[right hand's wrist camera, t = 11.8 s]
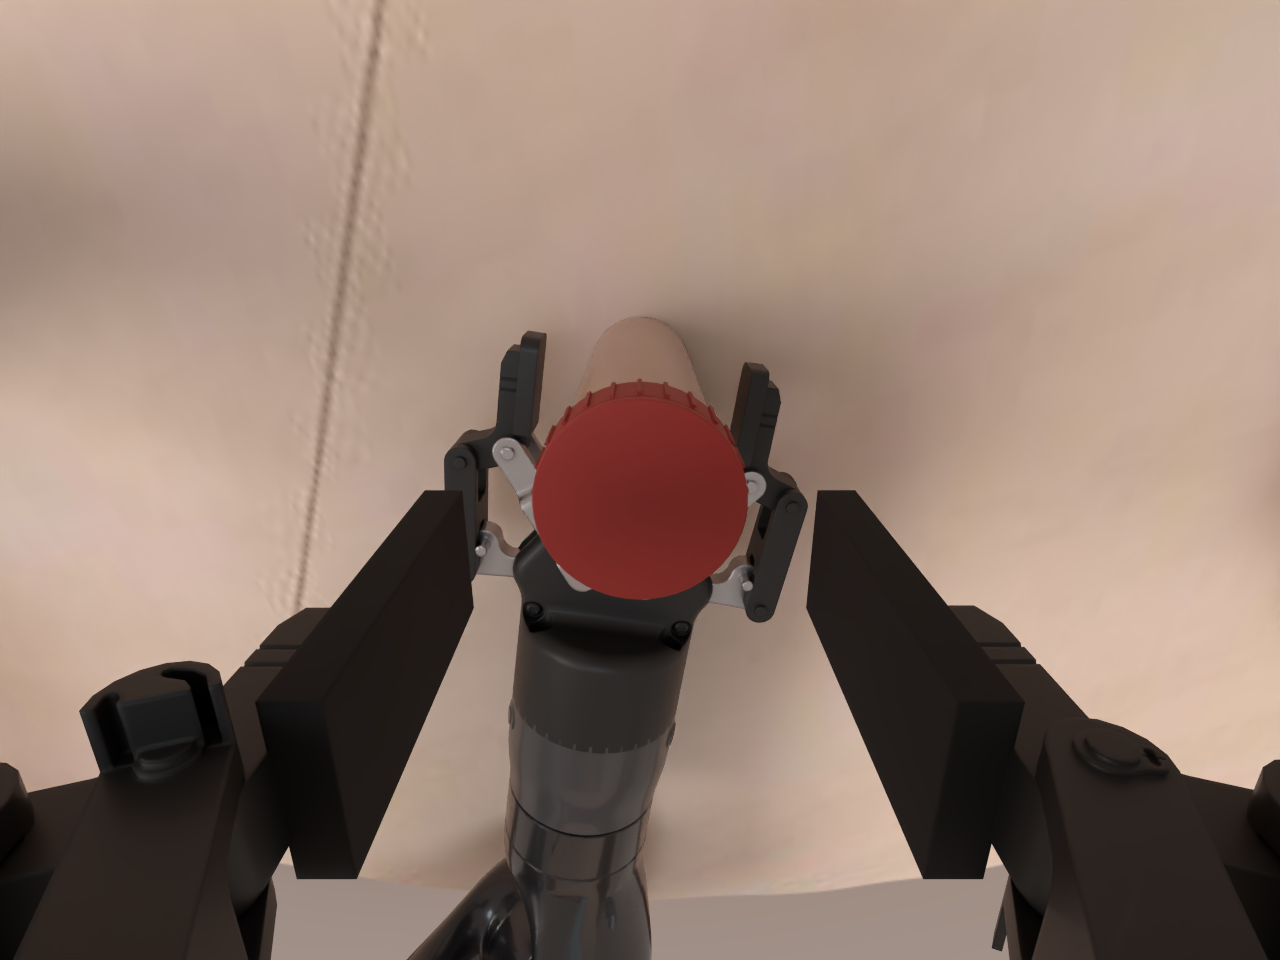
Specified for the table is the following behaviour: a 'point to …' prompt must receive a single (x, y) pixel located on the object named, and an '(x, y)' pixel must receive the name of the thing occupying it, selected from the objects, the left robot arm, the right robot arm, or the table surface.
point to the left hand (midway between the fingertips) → (647, 350)
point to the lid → (640, 491)
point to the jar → (640, 358)
